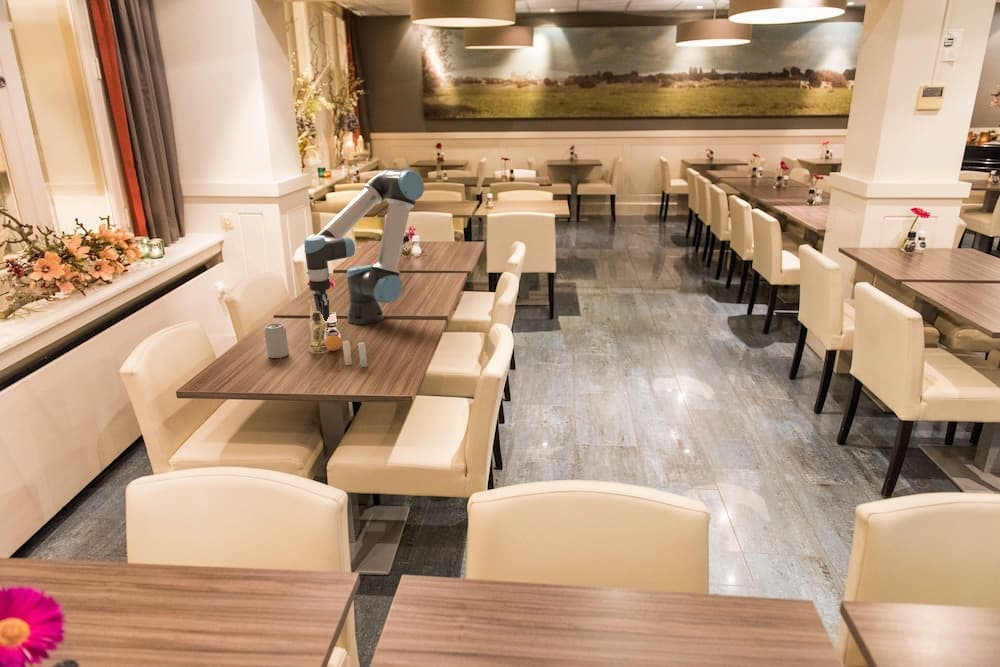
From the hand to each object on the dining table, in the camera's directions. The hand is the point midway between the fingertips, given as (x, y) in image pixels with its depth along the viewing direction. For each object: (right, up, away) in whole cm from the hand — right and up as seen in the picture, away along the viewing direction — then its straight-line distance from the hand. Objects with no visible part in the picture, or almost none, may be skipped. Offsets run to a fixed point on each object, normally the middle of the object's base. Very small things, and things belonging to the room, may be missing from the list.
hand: (325, 338), depth 259 cm
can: (-15, -7, -11) cm, 19 cm away
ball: (+5, -2, -8) cm, 9 cm away
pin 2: (+19, -10, -23) cm, 32 cm away
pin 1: (+13, -9, -21) cm, 26 cm away
